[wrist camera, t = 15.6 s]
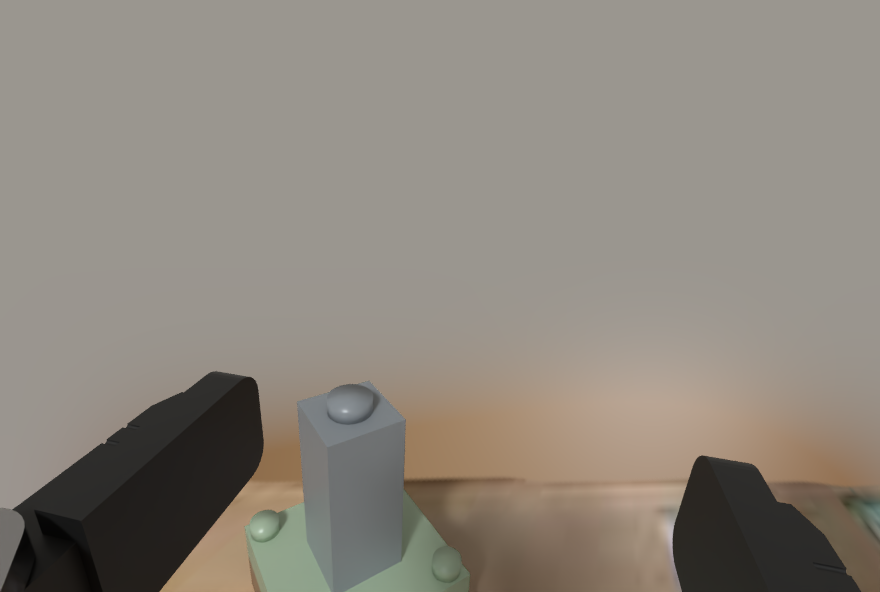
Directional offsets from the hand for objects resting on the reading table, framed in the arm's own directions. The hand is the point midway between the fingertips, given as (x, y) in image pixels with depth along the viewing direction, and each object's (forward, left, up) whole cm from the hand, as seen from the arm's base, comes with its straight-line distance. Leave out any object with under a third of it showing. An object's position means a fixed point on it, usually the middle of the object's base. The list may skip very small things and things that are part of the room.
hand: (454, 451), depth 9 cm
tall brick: (-6, -18, -24) cm, 30 cm away
